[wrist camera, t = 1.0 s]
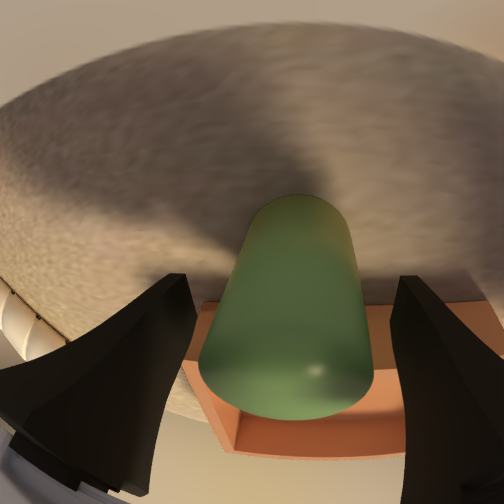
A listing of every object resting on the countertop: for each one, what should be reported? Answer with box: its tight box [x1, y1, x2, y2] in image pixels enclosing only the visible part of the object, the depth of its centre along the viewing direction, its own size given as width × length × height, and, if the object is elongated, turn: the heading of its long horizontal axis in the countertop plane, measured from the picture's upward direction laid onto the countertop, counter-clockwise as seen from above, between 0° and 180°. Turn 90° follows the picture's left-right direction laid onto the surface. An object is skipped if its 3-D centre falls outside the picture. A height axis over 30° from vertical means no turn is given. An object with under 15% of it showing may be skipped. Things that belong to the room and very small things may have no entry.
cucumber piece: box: [198, 195, 374, 420], centre depth 10 cm, size 4×4×7 cm
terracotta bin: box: [182, 300, 504, 460], centre depth 15 cm, size 16×12×4 cm
